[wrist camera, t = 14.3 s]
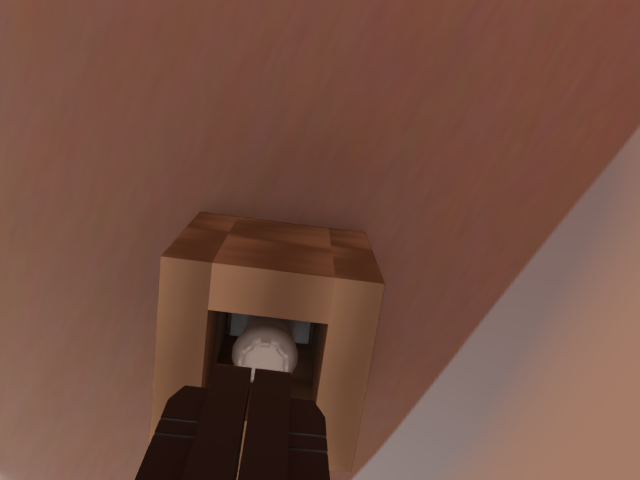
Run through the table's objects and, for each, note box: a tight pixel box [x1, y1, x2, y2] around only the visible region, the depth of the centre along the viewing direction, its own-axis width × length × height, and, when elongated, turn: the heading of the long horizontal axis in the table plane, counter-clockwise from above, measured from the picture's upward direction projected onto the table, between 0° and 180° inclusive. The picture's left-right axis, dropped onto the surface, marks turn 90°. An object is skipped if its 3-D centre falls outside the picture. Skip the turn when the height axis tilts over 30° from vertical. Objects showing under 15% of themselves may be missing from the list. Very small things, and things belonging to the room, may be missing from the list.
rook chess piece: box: [232, 313, 307, 383], centre depth 30 cm, size 4×4×8 cm
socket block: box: [149, 212, 385, 473], centre depth 30 cm, size 10×10×9 cm
